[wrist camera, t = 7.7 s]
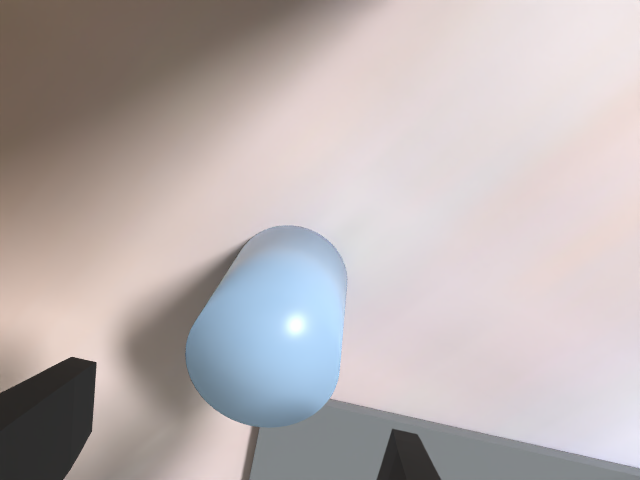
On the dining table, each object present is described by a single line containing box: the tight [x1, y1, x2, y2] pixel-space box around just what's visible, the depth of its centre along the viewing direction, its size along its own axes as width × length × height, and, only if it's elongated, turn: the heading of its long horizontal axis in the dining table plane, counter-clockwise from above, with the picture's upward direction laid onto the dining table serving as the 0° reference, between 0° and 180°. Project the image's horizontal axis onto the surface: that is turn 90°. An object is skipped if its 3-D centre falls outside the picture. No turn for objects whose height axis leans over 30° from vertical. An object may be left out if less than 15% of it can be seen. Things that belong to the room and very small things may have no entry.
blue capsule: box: [185, 226, 347, 428], centre depth 18 cm, size 4×4×6 cm
